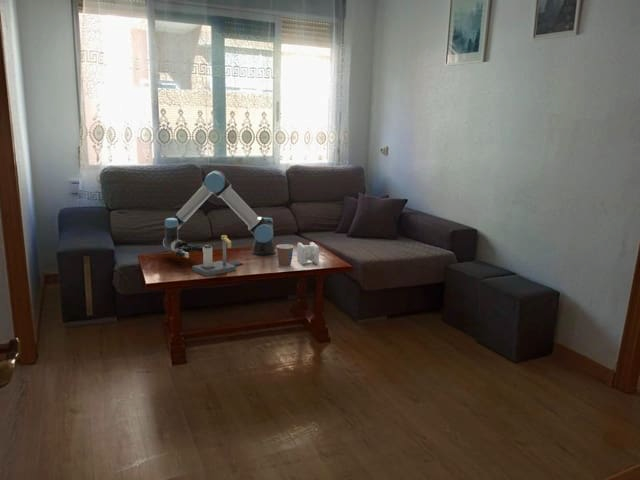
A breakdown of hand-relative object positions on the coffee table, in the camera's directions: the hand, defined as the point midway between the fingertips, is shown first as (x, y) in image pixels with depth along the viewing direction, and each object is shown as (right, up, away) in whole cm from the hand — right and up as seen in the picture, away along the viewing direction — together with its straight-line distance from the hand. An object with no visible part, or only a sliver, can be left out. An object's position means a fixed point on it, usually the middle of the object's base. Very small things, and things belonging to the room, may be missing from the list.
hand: (198, 253), depth 291 cm
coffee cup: (+48, -8, +13) cm, 50 cm away
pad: (+18, -7, +12) cm, 22 cm away
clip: (+17, +5, -6) cm, 19 cm away
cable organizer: (+62, -6, +22) cm, 66 cm away
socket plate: (+9, -9, -2) cm, 13 cm away
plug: (+6, -10, -4) cm, 12 cm away
